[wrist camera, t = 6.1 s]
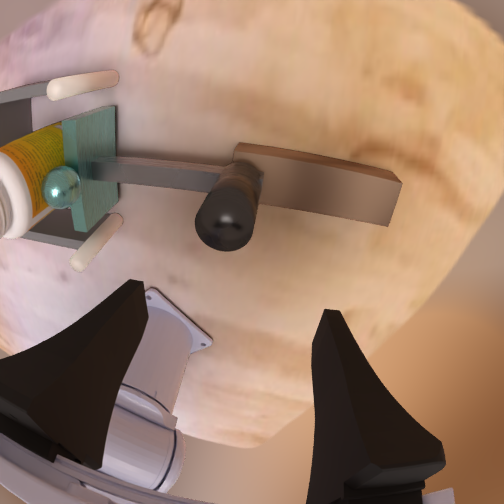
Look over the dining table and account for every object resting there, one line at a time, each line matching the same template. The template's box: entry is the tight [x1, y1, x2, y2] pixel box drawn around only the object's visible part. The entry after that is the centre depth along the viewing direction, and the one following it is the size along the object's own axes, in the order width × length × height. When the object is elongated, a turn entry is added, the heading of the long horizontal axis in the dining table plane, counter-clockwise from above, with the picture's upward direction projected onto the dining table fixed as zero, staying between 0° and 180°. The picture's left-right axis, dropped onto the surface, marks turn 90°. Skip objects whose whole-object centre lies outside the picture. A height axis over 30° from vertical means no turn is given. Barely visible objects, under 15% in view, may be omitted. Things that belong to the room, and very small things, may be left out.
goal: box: [0, 70, 123, 272], centre depth 17 cm, size 9×12×6 cm
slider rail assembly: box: [41, 106, 264, 251], centre depth 16 cm, size 12×7×8 cm, turn 83°
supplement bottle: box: [0, 121, 65, 239], centre depth 15 cm, size 6×6×10 cm
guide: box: [233, 142, 403, 227], centre depth 18 cm, size 10×3×2 cm, turn 83°
